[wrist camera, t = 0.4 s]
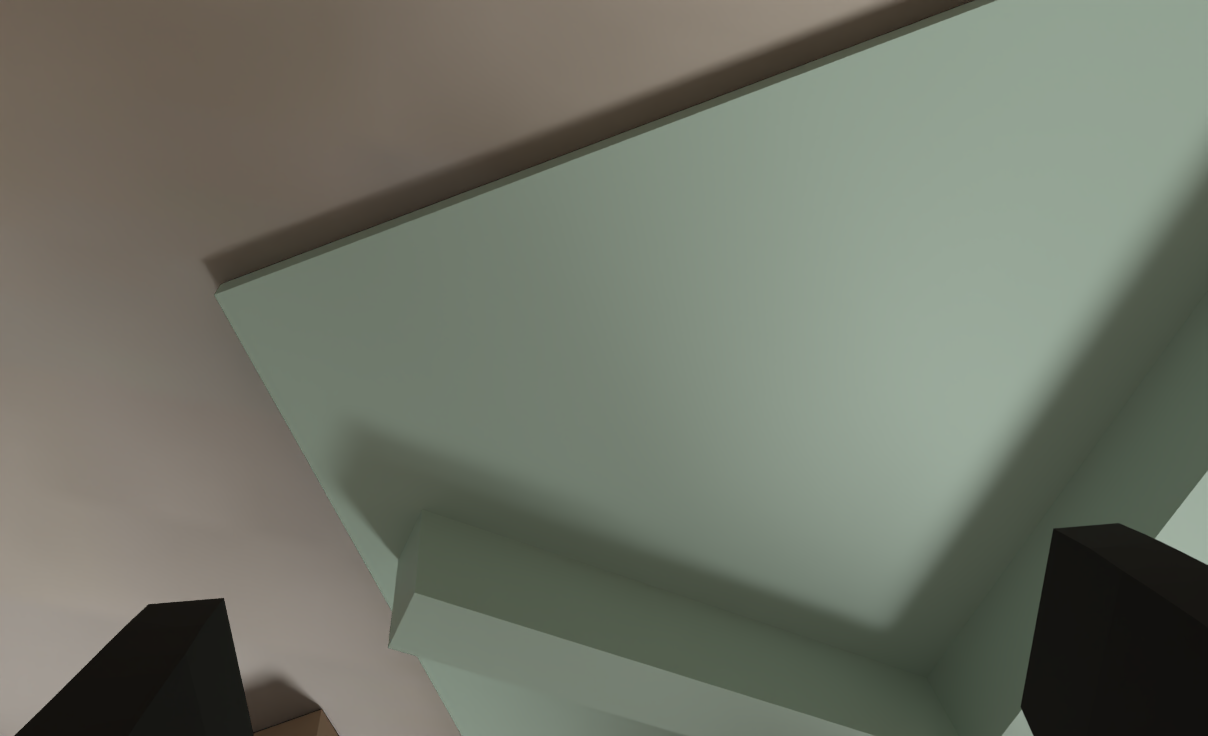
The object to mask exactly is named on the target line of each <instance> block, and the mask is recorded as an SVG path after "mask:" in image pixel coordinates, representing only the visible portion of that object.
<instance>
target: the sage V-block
mask: <svg viewBox="0 0 1208 736" xmlns="http://www.w3.org/2000/svg"><path fill="white" fill-rule="evenodd" d="M214 296H215V297H216V299H217V301H218V303H219V305H220V306H221V308H222V310H223V312H224V313H225V315H226V317H227V319H228V321H229V322H230V324H231V326H232V328H233V329H234V331H235V333H236V335H237V337H238V338H239V340H240V342H241V344H242V345H243V347H244V349H245V351H246V353H247V354H248V356H249V358H250V360H251V361H252V363H253V365H254V367H255V369H256V370H257V372H258V374H259V376H260V377H261V379H262V381H263V383H264V385H265V386H266V388H267V390H268V392H269V394H270V395H271V397H272V399H273V401H274V402H275V404H276V406H277V408H278V410H279V411H280V413H281V415H282V417H283V418H284V420H285V422H286V424H287V426H288V427H289V429H290V431H291V433H292V434H293V436H294V438H295V440H296V442H297V443H298V445H299V447H300V449H301V450H302V452H303V454H304V456H305V458H306V459H307V461H308V463H309V465H310V466H311V468H312V470H313V472H314V474H315V475H316V477H317V479H318V481H319V483H320V484H321V486H322V488H323V490H324V491H325V493H326V495H327V497H328V499H329V500H330V502H331V504H332V506H333V507H334V509H335V511H336V513H337V515H338V516H339V518H340V520H341V522H342V523H343V525H344V527H345V529H346V531H347V532H348V534H349V536H350V538H351V539H352V541H353V543H354V545H355V547H356V548H357V550H358V552H359V554H360V556H361V557H362V559H363V561H364V563H365V564H366V566H367V568H368V570H369V572H370V573H371V575H372V577H373V579H374V580H375V582H376V584H377V586H378V588H379V589H380V591H381V593H382V595H383V596H384V598H385V600H386V602H387V604H388V605H389V607H390V609H391V611H392V618H391V627H390V635H389V644H388V648H390V649H393V650H397V651H400V652H403V653H407V654H410V655H414V656H417V657H418V659H419V661H420V662H421V664H422V666H423V668H424V669H425V671H426V673H427V675H428V677H429V678H430V680H431V682H432V684H433V685H434V687H435V689H436V691H437V693H438V694H439V696H440V698H441V700H442V701H443V703H444V705H445V707H446V709H447V710H448V712H449V714H450V716H451V717H452V719H453V721H454V723H455V725H456V726H457V728H458V730H459V732H460V734H461V735H462V736H1033V734H1032V731H1031V729H1030V727H1029V725H1028V723H1027V720H1026V718H1025V716H1024V714H1023V711H1022V709H1021V701H1022V696H1023V690H1024V685H1025V680H1026V674H1027V669H1028V663H1029V658H1030V652H1031V647H1032V641H1033V636H1034V631H1035V625H1036V620H1037V614H1038V609H1039V603H1040V598H1041V592H1042V587H1043V582H1044V576H1045V571H1046V565H1047V560H1048V554H1049V549H1050V543H1051V538H1052V533H1053V528H1065V527H1077V526H1089V525H1101V524H1113V523H1120V524H1122V525H1125V526H1127V527H1129V528H1132V529H1134V530H1136V531H1139V532H1141V533H1143V534H1146V535H1148V536H1150V537H1152V538H1154V539H1156V540H1158V541H1161V542H1163V543H1165V544H1167V545H1169V546H1171V547H1173V548H1175V549H1177V550H1179V551H1181V552H1183V553H1185V554H1187V555H1189V556H1191V557H1193V558H1195V559H1197V560H1199V561H1201V562H1203V563H1205V564H1207V565H1208V0H974V1H972V2H969V3H966V4H964V5H961V6H958V7H956V8H953V9H950V10H948V11H945V12H942V13H940V14H937V15H935V16H932V17H929V18H927V19H924V20H921V21H919V22H916V23H913V24H911V25H908V26H905V27H903V28H900V29H897V30H895V31H892V32H889V33H887V34H884V35H881V36H879V37H876V38H873V39H871V40H868V41H865V42H863V43H860V44H858V45H855V46H852V47H850V48H847V49H844V50H842V51H839V52H836V53H834V54H831V55H828V56H826V57H823V58H820V59H818V60H815V61H812V62H810V63H807V64H804V65H802V66H799V67H796V68H794V69H791V70H789V71H786V72H783V73H781V74H778V75H775V76H773V77H770V78H767V79H765V80H762V81H759V82H757V83H754V84H751V85H749V86H746V87H743V88H741V89H738V90H735V91H733V92H730V93H727V94H725V95H722V96H719V97H717V98H714V99H712V100H709V101H706V102H704V103H701V104H698V105H696V106H693V107H690V108H688V109H685V110H682V111H680V112H677V113H674V114H672V115H669V116H666V117H664V118H661V119H658V120H656V121H653V122H650V123H648V124H645V125H642V126H640V127H637V128H635V129H632V130H629V131H627V132H624V133H621V134H619V135H616V136H613V137H611V138H608V139H605V140H603V141H600V142H597V143H595V144H592V145H589V146H587V147H584V148H581V149H579V150H576V151H573V152H571V153H568V154H566V155H563V156H560V157H558V158H555V159H552V160H550V161H547V162H544V163H542V164H539V165H536V166H534V167H531V168H528V169H526V170H523V171H520V172H518V173H515V174H512V175H510V176H507V177H504V178H502V179H499V180H496V181H494V182H491V183H489V184H486V185H483V186H481V187H478V188H475V189H473V190H470V191H467V192H465V193H462V194H459V195H457V196H454V197H451V198H449V199H446V200H443V201H441V202H438V203H435V204H433V205H430V206H427V207H425V208H422V209H419V210H417V211H414V212H412V213H409V214H406V215H404V216H401V217H398V218H396V219H393V220H390V221H388V222H385V223H382V224H380V225H377V226H374V227H372V228H369V229H366V230H364V231H361V232H358V233H356V234H353V235H350V236H348V237H345V238H343V239H340V240H337V241H335V242H332V243H329V244H327V245H324V246H321V247H319V248H316V249H313V250H311V251H308V252H305V253H303V254H300V255H297V256H295V257H292V258H289V259H287V260H284V261H281V262H279V263H276V264H273V265H271V266H268V267H266V268H263V269H260V270H258V271H255V272H252V273H250V274H247V275H244V276H242V277H239V278H236V279H234V280H231V281H228V282H226V283H223V284H221V285H220V287H219V288H218V290H217V291H216V293H215V294H214Z"/></svg>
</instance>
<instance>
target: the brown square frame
mask: <svg viewBox="0 0 1208 736" xmlns="http://www.w3.org/2000/svg"><path fill="white" fill-rule="evenodd" d="M253 735H254V736H338V734H337V733H336V731H335V729H334V728H333V726H332V725H331V723H330V722H329V720H328V718H327V717H326V715H325V714H324V712H323V711H322V709H321V710H318V711H316V712H313V713H310V714H307V715H304V716H301V717H299V718H296V719H293V720H290V721H287V722H285V723H282V724H279V725H276V726H273V727H270V728H268V729H265V730H262V731H259V732H256V733H253Z"/></svg>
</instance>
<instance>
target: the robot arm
mask: <svg viewBox="0 0 1208 736" xmlns="http://www.w3.org/2000/svg"><path fill="white" fill-rule="evenodd" d="M1021 709H1022V711H1023V714H1024V716H1025V718H1026V720H1027V723H1028V725H1029V727H1030V729H1031V731H1032V734H1033V736H1208V565H1207V564H1205V563H1203V562H1201V561H1199V560H1197V559H1195V558H1193V557H1191V556H1189V555H1187V554H1185V553H1183V552H1181V551H1179V550H1177V549H1175V548H1173V547H1171V546H1169V545H1167V544H1165V543H1163V542H1161V541H1158V540H1156V539H1154V538H1152V537H1150V536H1148V535H1146V534H1143V533H1141V532H1139V531H1136V530H1134V529H1132V528H1129V527H1127V526H1125V525H1122V524H1120V523H1113V524H1101V525H1089V526H1077V527H1065V528H1053V533H1052V538H1051V543H1050V549H1049V554H1048V560H1047V565H1046V571H1045V576H1044V582H1043V587H1042V592H1041V598H1040V603H1039V609H1038V614H1037V620H1036V625H1035V631H1034V636H1033V641H1032V647H1031V652H1030V658H1029V663H1028V669H1027V674H1026V680H1025V685H1024V690H1023V696H1022V701H1021ZM15 736H254V735H253V730H252V725H251V721H250V716H249V712H248V707H247V702H246V698H245V693H244V689H243V684H242V679H241V675H240V670H239V666H238V661H237V656H236V652H235V647H234V643H233V638H232V633H231V629H230V624H229V620H228V615H227V610H226V606H225V601H224V598H219V599H207V600H195V601H183V602H171V603H159V604H149V605H147V606H146V607H145V608H144V609H143V610H142V611H141V612H140V613H139V614H138V615H137V616H136V617H135V618H133V619H132V620H131V621H130V622H129V623H128V624H127V625H126V626H125V627H124V628H123V629H122V630H121V631H120V632H119V633H118V634H117V635H116V636H115V637H114V638H113V639H112V640H111V641H110V642H109V643H108V644H107V645H106V646H105V647H104V648H103V649H102V650H101V651H100V652H99V653H98V654H97V655H96V656H95V657H94V658H93V659H92V660H91V661H90V662H89V663H88V664H87V665H86V666H85V667H84V668H83V669H82V670H81V671H80V672H79V673H78V674H77V675H76V676H75V677H74V678H73V679H72V680H71V681H70V682H69V683H68V684H67V685H66V686H65V687H64V688H63V689H62V690H61V691H60V692H59V693H58V694H57V695H56V696H55V697H54V698H53V699H52V700H51V701H50V702H48V703H47V704H46V705H45V706H44V707H43V708H42V709H41V710H40V711H39V712H38V713H37V714H36V715H35V716H34V717H33V718H32V719H31V720H30V721H29V722H28V723H27V724H26V725H25V726H24V727H23V728H22V729H21V730H20V731H19V732H18V733H17V734H16V735H15Z"/></svg>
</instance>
